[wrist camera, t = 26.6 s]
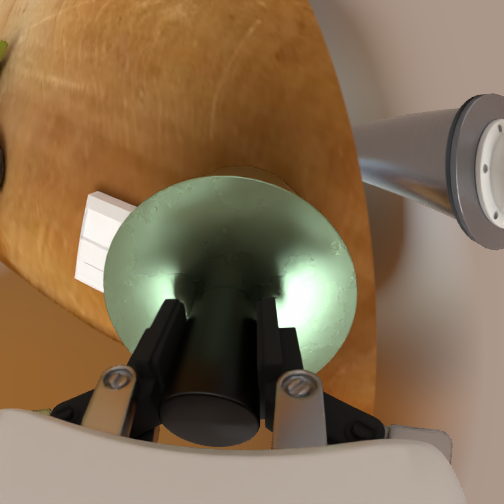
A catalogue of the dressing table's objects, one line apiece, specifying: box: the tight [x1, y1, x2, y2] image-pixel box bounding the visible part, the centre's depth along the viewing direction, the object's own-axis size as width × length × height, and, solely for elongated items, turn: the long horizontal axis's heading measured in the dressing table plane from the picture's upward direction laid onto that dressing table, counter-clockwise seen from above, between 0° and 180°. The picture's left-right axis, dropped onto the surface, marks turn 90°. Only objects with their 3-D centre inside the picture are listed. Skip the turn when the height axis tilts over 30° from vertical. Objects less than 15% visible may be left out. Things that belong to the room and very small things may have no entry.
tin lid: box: [103, 175, 357, 447], centre depth 10 cm, size 12×12×7 cm
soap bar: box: [75, 191, 137, 293], centre depth 23 cm, size 5×9×3 cm, turn 157°
